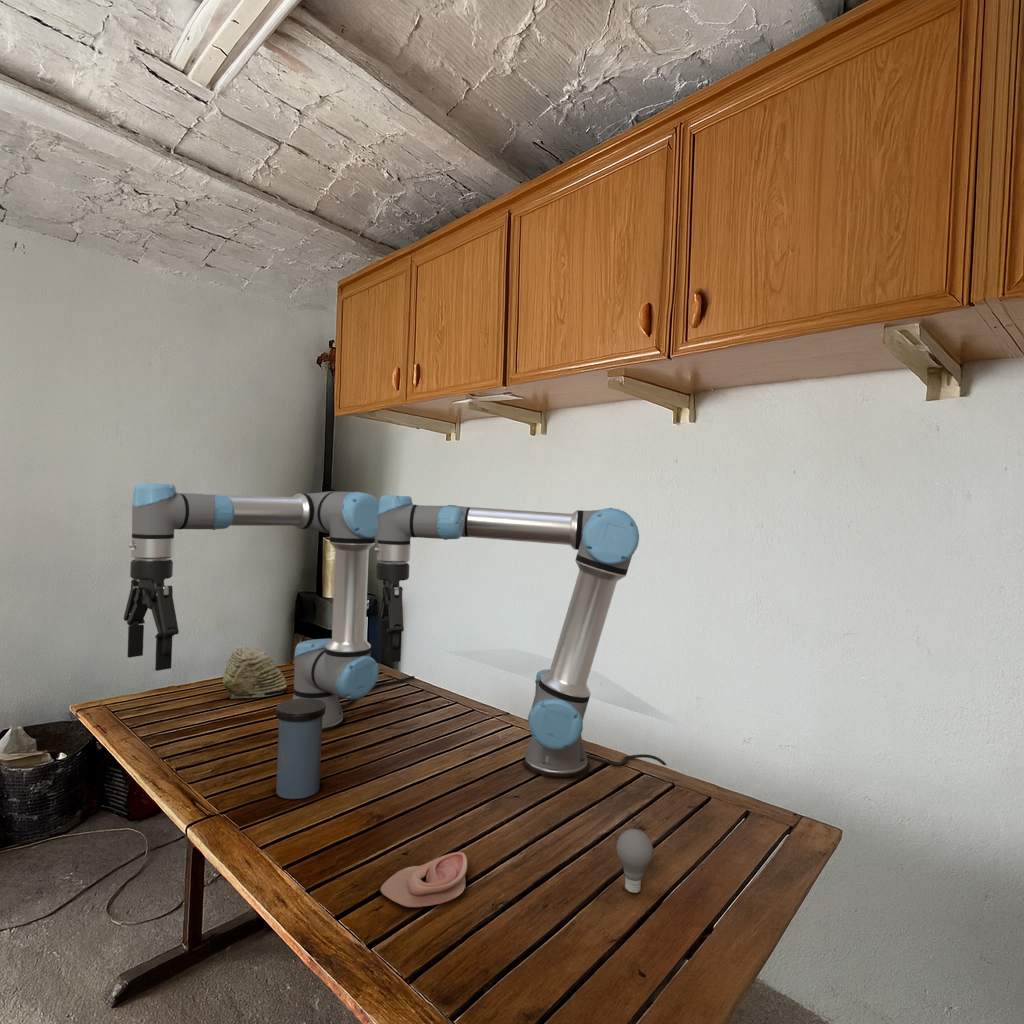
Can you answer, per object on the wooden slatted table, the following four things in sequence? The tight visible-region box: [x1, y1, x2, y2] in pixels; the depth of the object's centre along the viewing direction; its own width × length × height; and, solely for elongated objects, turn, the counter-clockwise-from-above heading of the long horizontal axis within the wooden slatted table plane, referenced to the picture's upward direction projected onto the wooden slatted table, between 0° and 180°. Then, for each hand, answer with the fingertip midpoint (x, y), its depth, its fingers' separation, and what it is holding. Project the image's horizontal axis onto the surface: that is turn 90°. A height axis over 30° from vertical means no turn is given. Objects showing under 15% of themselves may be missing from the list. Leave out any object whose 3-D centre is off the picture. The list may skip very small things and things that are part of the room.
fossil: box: [222, 646, 288, 699], centre depth 198 cm, size 9×18×15 cm, turn 132°
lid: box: [275, 698, 326, 722], centre depth 136 cm, size 10×10×2 cm
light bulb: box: [615, 828, 654, 894], centre depth 106 cm, size 6×6×10 cm
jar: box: [275, 716, 323, 800], centre depth 137 cm, size 9×9×18 cm
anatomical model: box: [380, 851, 468, 908], centre depth 104 cm, size 13×4×12 cm
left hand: (148, 662), depth 129 cm, fingers open, 13 cm apart
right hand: (389, 654), depth 146 cm, fingers open, 13 cm apart
